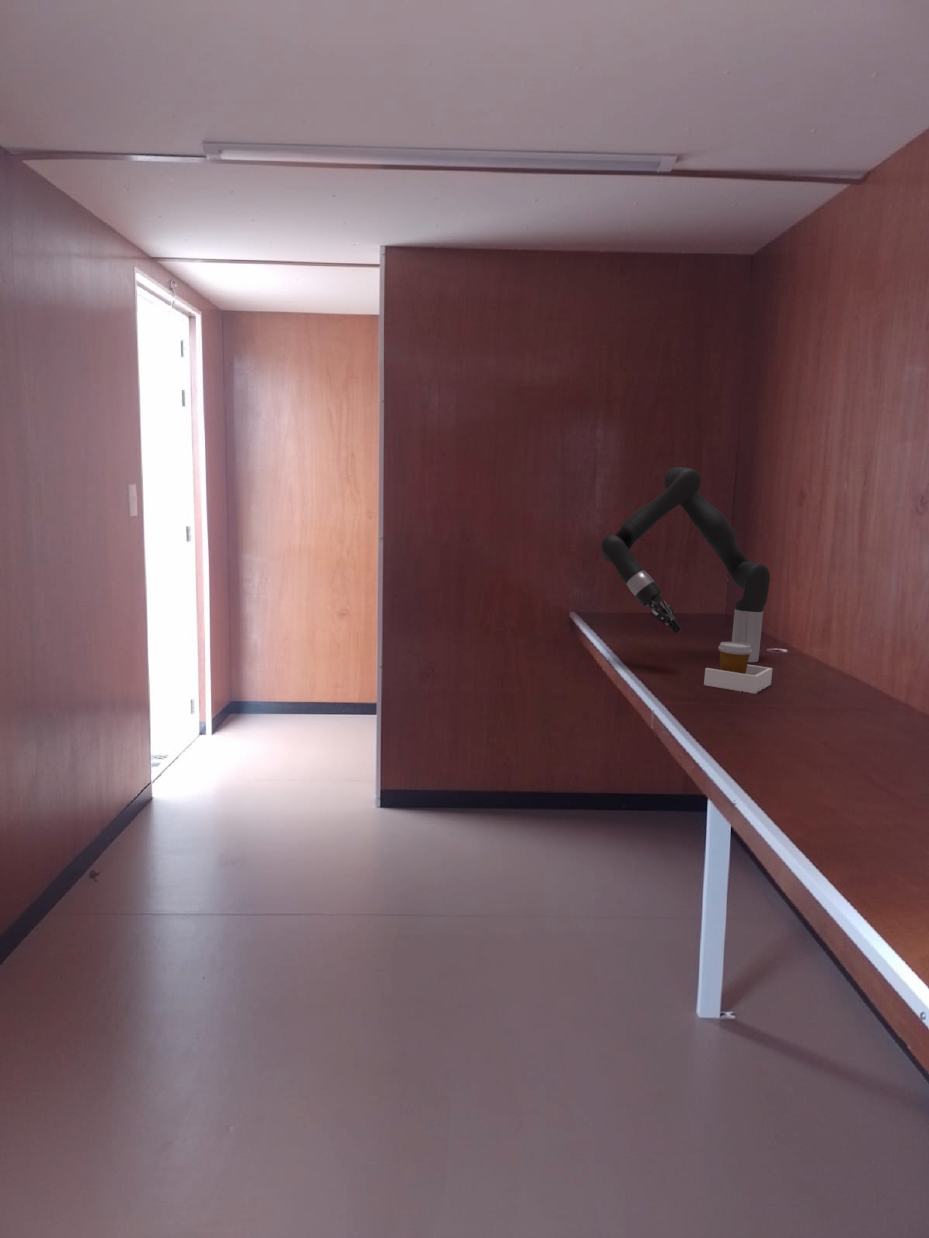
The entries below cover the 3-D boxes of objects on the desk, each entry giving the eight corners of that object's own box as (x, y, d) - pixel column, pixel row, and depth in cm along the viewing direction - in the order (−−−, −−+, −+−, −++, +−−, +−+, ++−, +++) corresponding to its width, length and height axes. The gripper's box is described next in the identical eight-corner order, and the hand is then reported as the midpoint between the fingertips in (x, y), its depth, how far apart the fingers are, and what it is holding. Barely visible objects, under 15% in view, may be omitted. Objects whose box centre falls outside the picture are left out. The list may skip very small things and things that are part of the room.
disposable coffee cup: (752, 688, 261) (756, 648, 259) (720, 687, 261) (723, 646, 259) (742, 681, 270) (746, 642, 268) (711, 679, 270) (715, 640, 268)
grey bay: (721, 676, 276) (722, 660, 275) (770, 684, 267) (772, 668, 267) (703, 685, 262) (705, 668, 262) (755, 693, 254) (756, 676, 253)
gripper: (644, 582, 273) (680, 626, 268) (660, 579, 284) (695, 621, 279) (627, 597, 276) (662, 641, 272) (644, 593, 287) (677, 636, 283)
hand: (679, 631), depth 275 cm, fingers closed
